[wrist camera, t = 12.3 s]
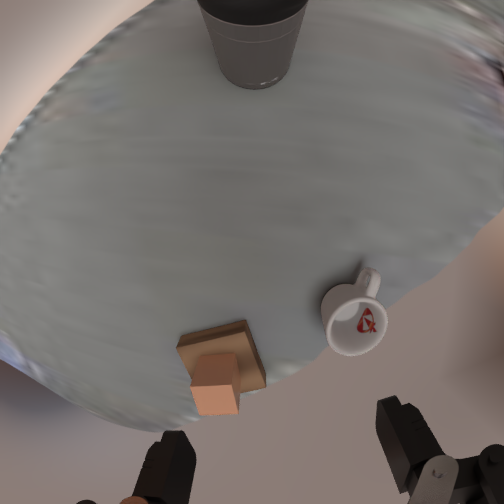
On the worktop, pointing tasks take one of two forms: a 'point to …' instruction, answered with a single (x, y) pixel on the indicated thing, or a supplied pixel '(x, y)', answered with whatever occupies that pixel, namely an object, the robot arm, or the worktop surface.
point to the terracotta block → (217, 384)
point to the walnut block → (225, 351)
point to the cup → (354, 315)
